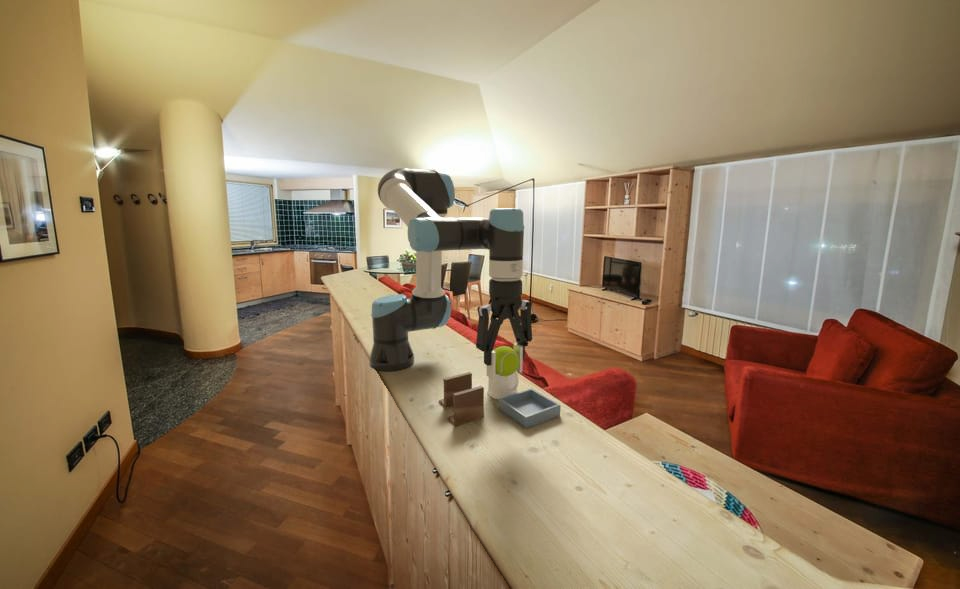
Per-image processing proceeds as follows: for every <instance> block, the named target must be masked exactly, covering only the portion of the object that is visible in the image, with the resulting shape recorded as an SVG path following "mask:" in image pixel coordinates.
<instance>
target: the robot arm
mask: <svg viewBox="0 0 960 589" xmlns="http://www.w3.org/2000/svg"><path fill="white" fill-rule="evenodd" d="M377 186H378V187H377V195H378V198H379V200H380V202H381V203H382V204H383V206H384V207H386V209H388V210H390V211H393V212H394V213H395V214H396V215H397V216H398V217H399V219H400V221H402V222H403V223H404V224H405V226H406V227H407V240H408V242H409V247H410V248H411V250H413V251H414V252H415V254H416V255H415V256H416V257H415V258H416V261H415V266H416V267H415V270H416V271H415V277H416V279H415V280H416V282H415V288H414V289H413V290H411V297H407V295H405V294H403V293H397V294H395V293H393V294H388V295H384V296H381V297H378V298H376V299H375V300H374V301H373V302H372V303H371V314H370V316H371V320H372V321H371V322H372V337H373V345H372V348H371V352H370V356H369V367H370V368H371V369H373V370H377V371H381V372H382V371H383V372H393V371H399V370H404V369H407V368H409V367H410V366H412V365H414V363H415V354H414V352H413V349H412V346H411V344H410V340H409V332H417V331H422V330H423V331H424V330H430V329H431V330H432V329H433V330H434V329H437V328H441V327H445V326H446V325H447V323H448V322H449V320H450V317H451V313H452V305H451V300H450V298H449V296H448V295H447V294H446V291H445V290H444V289H443V288H442V263H443V262H442V260H443V258H442V257H443V251H444V252H445V251H463V250H464V251H465V250H469V251H470V250H488V251H489V252H488V253H489V256H488V257H489V261H488V265H489V266H488V267H489V268H488V276H489V277H490V279H489V281H488V294H489V301H488V304H486V305H484V306H481V305H478V307H477V308H476V309H477V314H478V324H477V333H476V342H475V343H476V344H475V348H476V349H478V350H479V351H481V352H483V364H484V365H486V377H488V379H489V378H491V379H492V380H494V379H496V352H494V351H493V350H494V349H495V345H496V341H497V338H498V335H499V333H500V332H499V331H500V329H501V326H502V325H503V323H504V321H505V320H507V319H508V320H509V322H510V326H511V328H512V333H513V334H514V338H515V340H516V343H513V348H512V349H513V350H515V351H516V353H517V354H518V357H519V366H518V369H517V370H516V371H517V373H518V374H519V373H523V360H524V359H523V358H525V355H526V354H525V353H526V347H528V346H529V342H532V341H533V330H532V312H531V311H532V307H533V303H532V301H529V300H525V299H522V297H521V296H522V295H523V280H522V277H523V276H524V275H523V272H524V269H523V266H524V264H523V263H524V257H523V256H524V239H525V238H524V236H525V235H524V234H525V233H524V232H525V225H524V212H523V210H522V209H520V208H514V207H511V208H510V207H509V208H508V207H505V208H504V207H501V208H500V207H499V208H492V209H491V210H490V211H489V215H488V217H483V216H479V217H478V216H475V217H446V216H447V215H448V209H449V208H451V207H453V206H454V202H455V200H456V199H455V196H456V195H455V194H456V192H455V186H454V182H453V180H452V177H451V176H450V175H449V173H447V172H446V171H443V170H437V169H422V168H421V169H420V168H406V167H400V168H395V169H392V170H390V171H387V172H386V173H385V174H384V175H383V176H382V178H381V179H380V180H379V183H378V185H377ZM519 310H520V312H519Z"/></svg>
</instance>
